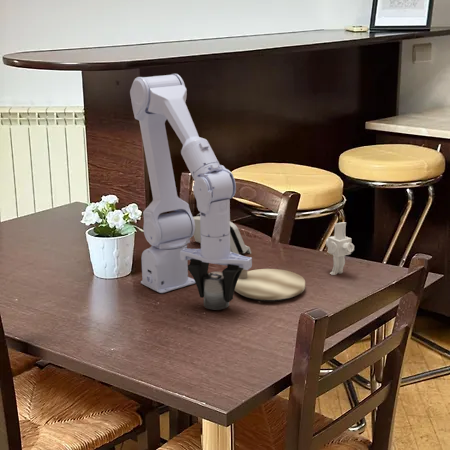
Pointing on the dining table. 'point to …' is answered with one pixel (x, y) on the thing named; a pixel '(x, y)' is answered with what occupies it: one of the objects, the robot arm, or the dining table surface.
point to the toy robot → (339, 247)
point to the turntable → (269, 284)
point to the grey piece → (235, 237)
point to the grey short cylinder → (214, 291)
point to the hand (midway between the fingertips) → (216, 298)
